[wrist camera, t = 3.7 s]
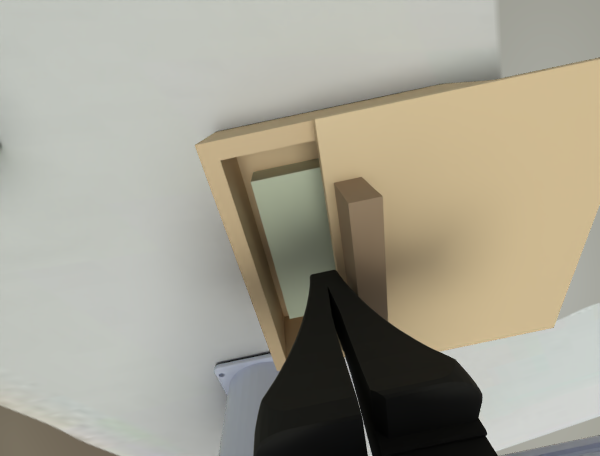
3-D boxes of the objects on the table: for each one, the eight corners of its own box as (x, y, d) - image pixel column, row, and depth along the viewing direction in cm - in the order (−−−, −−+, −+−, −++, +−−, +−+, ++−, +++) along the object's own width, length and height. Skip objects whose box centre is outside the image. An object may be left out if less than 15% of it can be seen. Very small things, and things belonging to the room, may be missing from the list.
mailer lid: (544, 320, 17) (594, 361, 15) (349, 361, 17) (363, 409, 15) (638, 49, 10) (765, 32, 8) (312, 118, 10) (326, 126, 8)
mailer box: (430, 287, 22) (466, 331, 18) (276, 320, 22) (277, 371, 18) (442, 83, 15) (505, 79, 11) (216, 131, 15) (195, 145, 11)
